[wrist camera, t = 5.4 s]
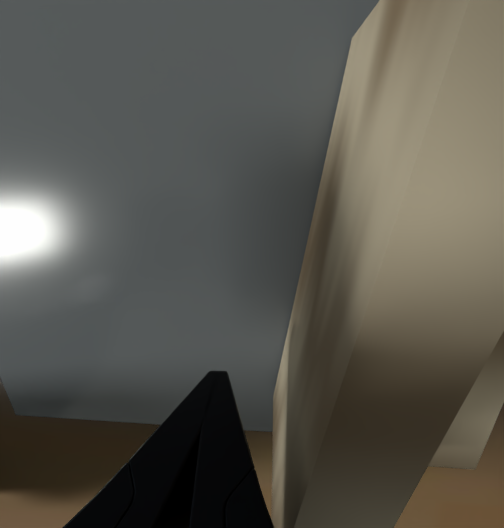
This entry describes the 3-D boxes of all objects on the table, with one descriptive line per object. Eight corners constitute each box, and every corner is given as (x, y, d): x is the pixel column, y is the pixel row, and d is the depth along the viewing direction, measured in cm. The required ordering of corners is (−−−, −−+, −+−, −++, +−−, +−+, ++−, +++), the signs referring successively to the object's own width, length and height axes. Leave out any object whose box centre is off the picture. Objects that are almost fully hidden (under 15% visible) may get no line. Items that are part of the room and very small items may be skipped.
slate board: (429, 423, 14) (439, 442, 13) (31, 398, 16) (15, 414, 15) (633, -237, 7) (690, -297, 6) (-184, -165, 8) (-244, -205, 7)
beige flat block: (351, 37, 8) (543, -225, 2) (421, 47, 8) (795, -192, 2) (273, 396, 13) (270, 598, 7) (315, 403, 13) (346, 611, 7)
